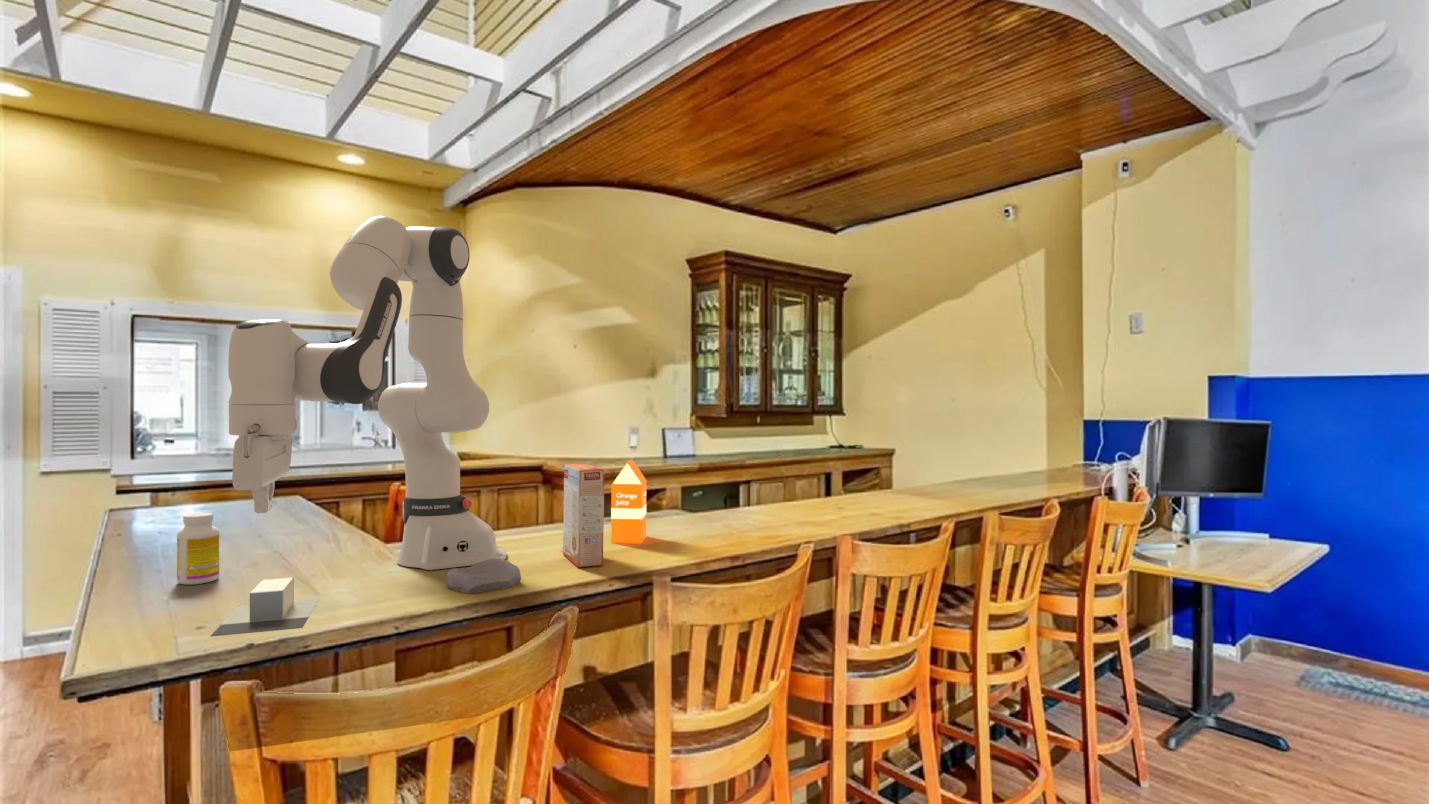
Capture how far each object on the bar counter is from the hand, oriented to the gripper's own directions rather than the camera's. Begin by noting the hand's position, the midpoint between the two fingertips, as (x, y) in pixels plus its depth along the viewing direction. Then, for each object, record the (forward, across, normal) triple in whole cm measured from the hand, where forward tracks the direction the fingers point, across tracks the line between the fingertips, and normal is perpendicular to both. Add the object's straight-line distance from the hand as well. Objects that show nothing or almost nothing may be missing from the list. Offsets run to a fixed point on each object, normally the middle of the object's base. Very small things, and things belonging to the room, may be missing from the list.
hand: (263, 511), depth 112 cm
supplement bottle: (+18, +35, +18) cm, 43 cm away
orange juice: (+19, +48, -70) cm, 87 cm away
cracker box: (+19, +29, -55) cm, 65 cm away
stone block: (+19, +14, -34) cm, 41 cm away
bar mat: (+18, +4, 0) cm, 18 cm away
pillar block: (+15, +2, 0) cm, 16 cm away
